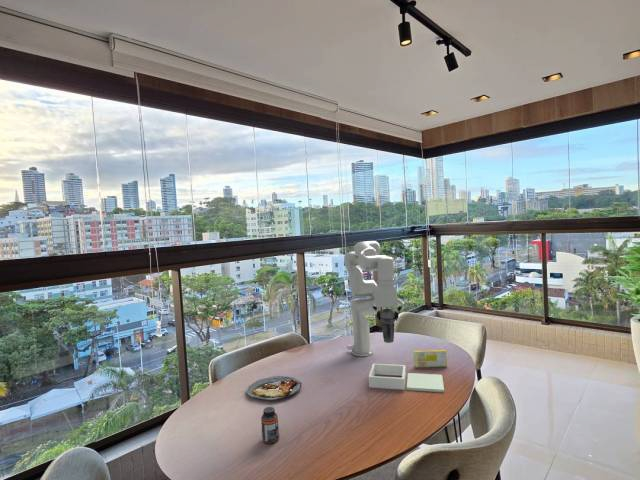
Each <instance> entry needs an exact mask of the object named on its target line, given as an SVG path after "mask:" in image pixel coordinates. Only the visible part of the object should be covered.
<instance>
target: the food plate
mask: <svg viewBox="0 0 640 480" xmlns="http://www.w3.org/2000/svg"><path fill="white" fill-rule="evenodd" d="M279 381H280V382H281V383H279V386H277V385H278V384H273V383H274V382H279ZM285 381H286V382H285ZM287 382H289V383H287ZM269 383H271V384H269ZM265 384H267V385H265ZM260 387H261V388H260ZM278 387H279V390H282V391H279V390H268V389H276V388H278ZM259 388H260V389H259ZM264 388H267V389H264ZM301 388H302V382H301V381H300V380H299V379H298V378H297V379H296V378H295V377H289V376H283V375H282V376H281V375H275V376H270V377H269V376H268V377H264V378H260V379H259V380H255V381H254V382H252V383H251V384H250V385H249V386H248V387H247V388H246V393H247V395H248V396H250V397H251V398H256V399H262V400H268V401H277V400H280V399H285V398H288V397H291V396H292V395H294V394H296V393H297V392H298V391H300V390H301ZM290 389H292V391H290Z"/></svg>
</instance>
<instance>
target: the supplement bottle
mask: <svg viewBox="0 0 640 480" xmlns="http://www.w3.org/2000/svg"><path fill="white" fill-rule="evenodd" d="M275 409H276V408H275V407H274V406H267V407H265V408H263V413H262V415H261V417H260V419H261V422H260V423H261V435H262V436H261V438H262V442H263V443H264V444H267V445H271V444H275V443H277V442H278V441H279V439H280V430H279V416H278V414H277V412H276V410H275Z"/></svg>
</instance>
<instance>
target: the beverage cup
mask: <svg viewBox="0 0 640 480" xmlns="http://www.w3.org/2000/svg"><path fill="white" fill-rule="evenodd" d="M380 318H381V319H380V323H381V330H382V337H383V342H384V343H387V344H391V343H394V338H395V322H396V321H395V311H393V310H392V308H383V310H382V311H380Z"/></svg>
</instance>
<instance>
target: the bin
mask: <svg viewBox="0 0 640 480" xmlns="http://www.w3.org/2000/svg"><path fill="white" fill-rule="evenodd" d="M406 368H407V367H406V364H405V365H404V364H391V363H390V364H389V363H388V364H387V363H372V365H371V368H370V371H369V374H368V387H369V388H373V389H389V390H403V391H404V390H405V388H406V381H407V380H406V377H407V370H406ZM379 375H380V376H379ZM384 375H386V376H384ZM394 376H399V377H394ZM400 376H401V377H400Z"/></svg>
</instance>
